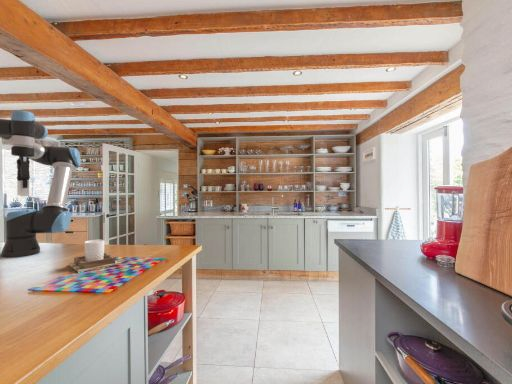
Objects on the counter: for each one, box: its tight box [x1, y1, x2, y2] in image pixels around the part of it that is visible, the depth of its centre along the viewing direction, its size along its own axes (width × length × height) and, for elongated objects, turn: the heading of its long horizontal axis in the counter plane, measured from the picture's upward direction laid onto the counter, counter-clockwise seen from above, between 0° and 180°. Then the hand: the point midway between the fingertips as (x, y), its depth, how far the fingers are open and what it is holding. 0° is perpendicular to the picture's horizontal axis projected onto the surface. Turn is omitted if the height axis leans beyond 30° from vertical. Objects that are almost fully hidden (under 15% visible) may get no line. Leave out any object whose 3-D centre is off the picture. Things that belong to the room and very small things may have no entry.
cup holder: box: [68, 252, 121, 273], centre depth 117 cm, size 16×16×4 cm
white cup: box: [83, 239, 106, 262], centre depth 117 cm, size 8×8×10 cm
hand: (23, 195), depth 113 cm, fingers open, 13 cm apart
